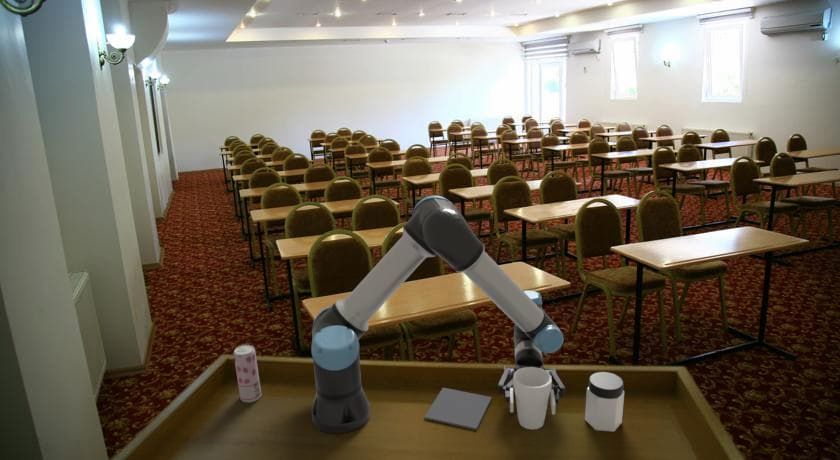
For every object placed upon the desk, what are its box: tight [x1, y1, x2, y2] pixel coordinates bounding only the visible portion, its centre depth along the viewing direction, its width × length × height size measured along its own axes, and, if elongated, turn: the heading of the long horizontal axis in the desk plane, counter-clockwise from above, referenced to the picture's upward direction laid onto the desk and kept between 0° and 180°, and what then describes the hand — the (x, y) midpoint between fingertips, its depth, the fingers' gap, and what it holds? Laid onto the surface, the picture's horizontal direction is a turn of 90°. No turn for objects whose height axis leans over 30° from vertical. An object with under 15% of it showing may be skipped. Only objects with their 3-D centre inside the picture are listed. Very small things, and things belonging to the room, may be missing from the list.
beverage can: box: [233, 344, 262, 403], centre depth 167 cm, size 6×6×15 cm
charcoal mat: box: [423, 387, 493, 431], centre depth 161 cm, size 14×14×1 cm
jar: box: [584, 371, 625, 432], centre depth 152 cm, size 9×8×12 cm
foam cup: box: [512, 367, 552, 430], centre depth 153 cm, size 10×9×13 cm
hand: (532, 408), depth 148 cm, fingers closed on foam cup, 9 cm apart
